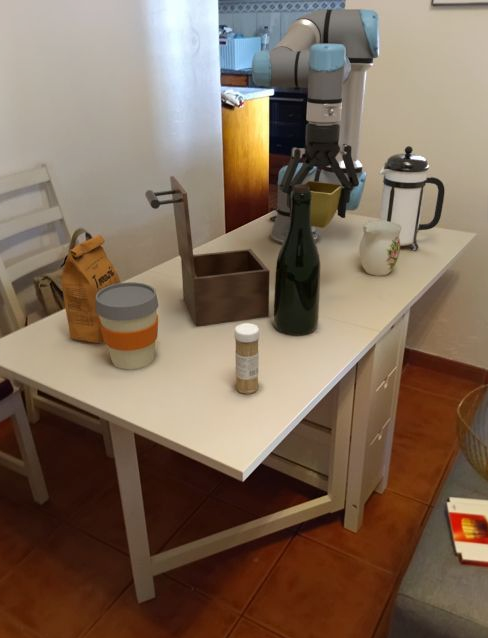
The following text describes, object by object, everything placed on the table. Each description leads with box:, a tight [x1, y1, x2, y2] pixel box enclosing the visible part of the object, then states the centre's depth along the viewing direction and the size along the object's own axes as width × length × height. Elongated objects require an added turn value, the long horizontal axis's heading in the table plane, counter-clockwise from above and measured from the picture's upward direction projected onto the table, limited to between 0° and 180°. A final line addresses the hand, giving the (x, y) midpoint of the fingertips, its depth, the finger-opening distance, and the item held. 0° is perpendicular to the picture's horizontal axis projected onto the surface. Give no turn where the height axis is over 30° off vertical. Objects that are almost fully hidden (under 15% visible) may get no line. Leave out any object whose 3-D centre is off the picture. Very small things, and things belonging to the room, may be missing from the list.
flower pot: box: [304, 181, 342, 229], centre depth 140 cm, size 9×9×9 cm
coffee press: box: [378, 145, 446, 251], centre depth 180 cm, size 17×16×30 cm
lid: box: [144, 175, 196, 277], centre depth 133 cm, size 19×15×7 cm
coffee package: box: [61, 234, 121, 343], centre depth 131 cm, size 10×12×22 cm
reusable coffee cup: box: [96, 281, 160, 370], centre depth 123 cm, size 13×13×15 cm
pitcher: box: [359, 220, 401, 277], centre depth 166 cm, size 11×18×14 cm, turn 143°
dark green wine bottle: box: [273, 184, 321, 336], centre depth 131 cm, size 10×10×33 cm
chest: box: [180, 248, 271, 327], centre depth 144 cm, size 18×15×12 cm
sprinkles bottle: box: [234, 322, 260, 395], centre depth 113 cm, size 5×5×13 cm
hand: (317, 218), depth 141 cm, fingers closed on flower pot, 12 cm apart
